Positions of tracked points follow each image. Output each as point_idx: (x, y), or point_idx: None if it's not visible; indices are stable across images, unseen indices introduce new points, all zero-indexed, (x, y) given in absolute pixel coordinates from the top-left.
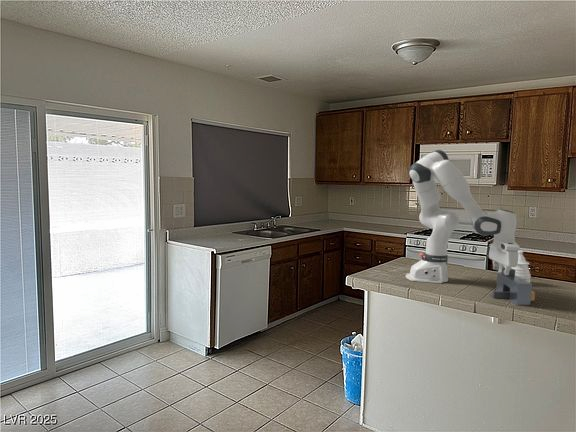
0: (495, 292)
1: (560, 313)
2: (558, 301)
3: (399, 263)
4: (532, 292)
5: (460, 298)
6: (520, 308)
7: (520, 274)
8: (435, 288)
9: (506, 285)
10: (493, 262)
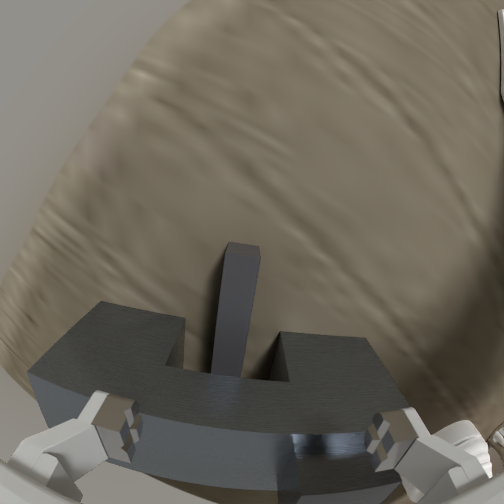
0: (224, 263)
1: None
2: None
3: None
4: None
5: (223, 16)
6: (56, 284)
7: None
8: (419, 6)
9: (232, 377)
10: (459, 463)
